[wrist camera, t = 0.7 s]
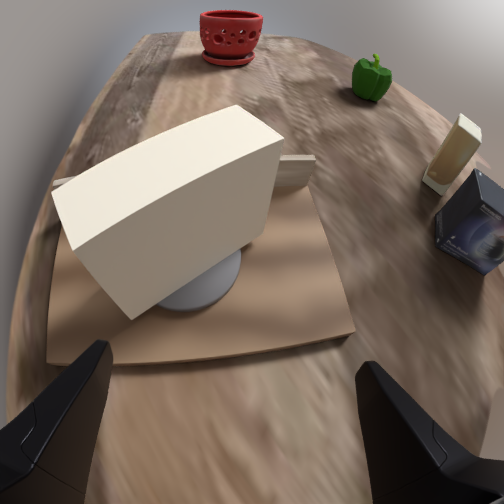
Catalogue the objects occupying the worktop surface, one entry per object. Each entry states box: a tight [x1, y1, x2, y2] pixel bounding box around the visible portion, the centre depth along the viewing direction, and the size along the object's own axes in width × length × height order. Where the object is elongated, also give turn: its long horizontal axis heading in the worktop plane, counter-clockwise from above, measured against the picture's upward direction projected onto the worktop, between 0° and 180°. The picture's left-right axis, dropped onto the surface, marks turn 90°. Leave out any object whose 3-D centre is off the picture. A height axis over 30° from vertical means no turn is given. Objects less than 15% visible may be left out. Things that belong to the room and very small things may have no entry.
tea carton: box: [51, 105, 285, 320], centre depth 21 cm, size 10×14×12 cm
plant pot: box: [200, 10, 263, 66], centre depth 48 cm, size 13×13×12 cm
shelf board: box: [47, 155, 356, 366], centre depth 25 cm, size 18×28×6 cm, turn 100°
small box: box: [435, 168, 504, 276], centre depth 28 cm, size 11×6×10 cm, turn 66°
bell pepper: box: [352, 54, 392, 101], centre depth 47 cm, size 8×8×10 cm
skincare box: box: [422, 113, 482, 196], centre depth 34 cm, size 6×4×12 cm
